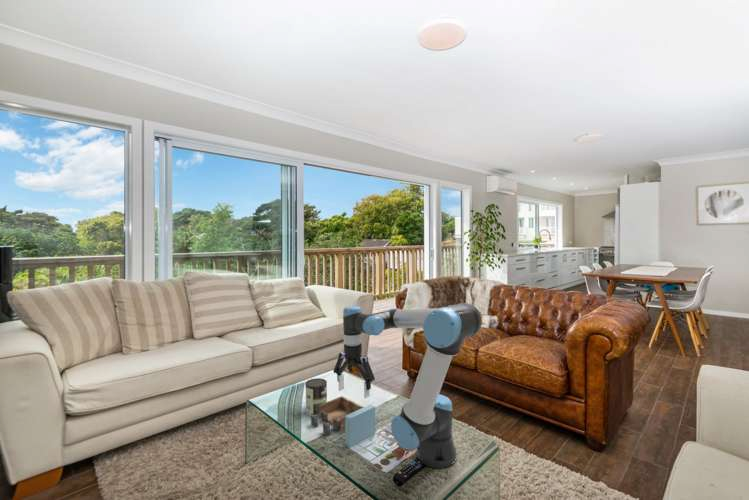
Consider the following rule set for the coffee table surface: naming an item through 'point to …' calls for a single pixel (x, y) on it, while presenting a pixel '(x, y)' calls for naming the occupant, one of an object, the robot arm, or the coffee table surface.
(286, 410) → the coffee table surface
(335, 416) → the cabinet
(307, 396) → the coffee can
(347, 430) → the door
